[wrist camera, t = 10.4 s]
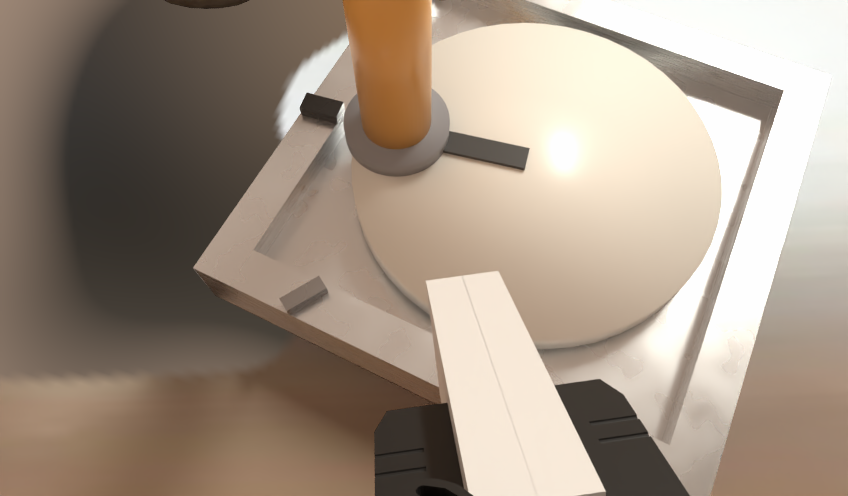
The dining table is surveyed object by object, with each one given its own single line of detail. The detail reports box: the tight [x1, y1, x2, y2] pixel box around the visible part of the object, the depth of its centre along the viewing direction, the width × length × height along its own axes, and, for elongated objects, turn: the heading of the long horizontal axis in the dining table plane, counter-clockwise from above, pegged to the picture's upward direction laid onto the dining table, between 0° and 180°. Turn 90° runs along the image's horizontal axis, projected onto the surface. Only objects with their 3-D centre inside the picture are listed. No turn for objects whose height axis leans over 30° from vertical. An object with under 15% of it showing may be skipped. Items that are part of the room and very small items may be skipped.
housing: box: [194, 0, 831, 496], centre depth 34 cm, size 24×24×4 cm
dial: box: [343, 0, 722, 349], centre depth 26 cm, size 19×18×16 cm
